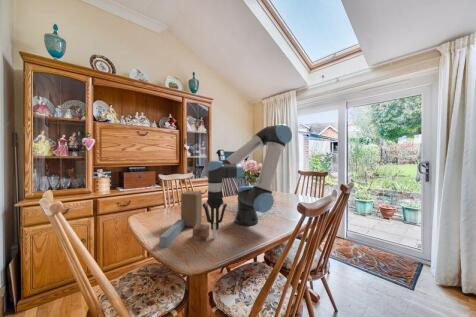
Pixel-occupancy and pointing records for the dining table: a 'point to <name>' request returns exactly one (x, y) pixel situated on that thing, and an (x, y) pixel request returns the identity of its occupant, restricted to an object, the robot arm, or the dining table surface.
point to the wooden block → (191, 208)
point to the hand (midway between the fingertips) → (214, 235)
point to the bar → (171, 233)
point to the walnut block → (201, 232)
